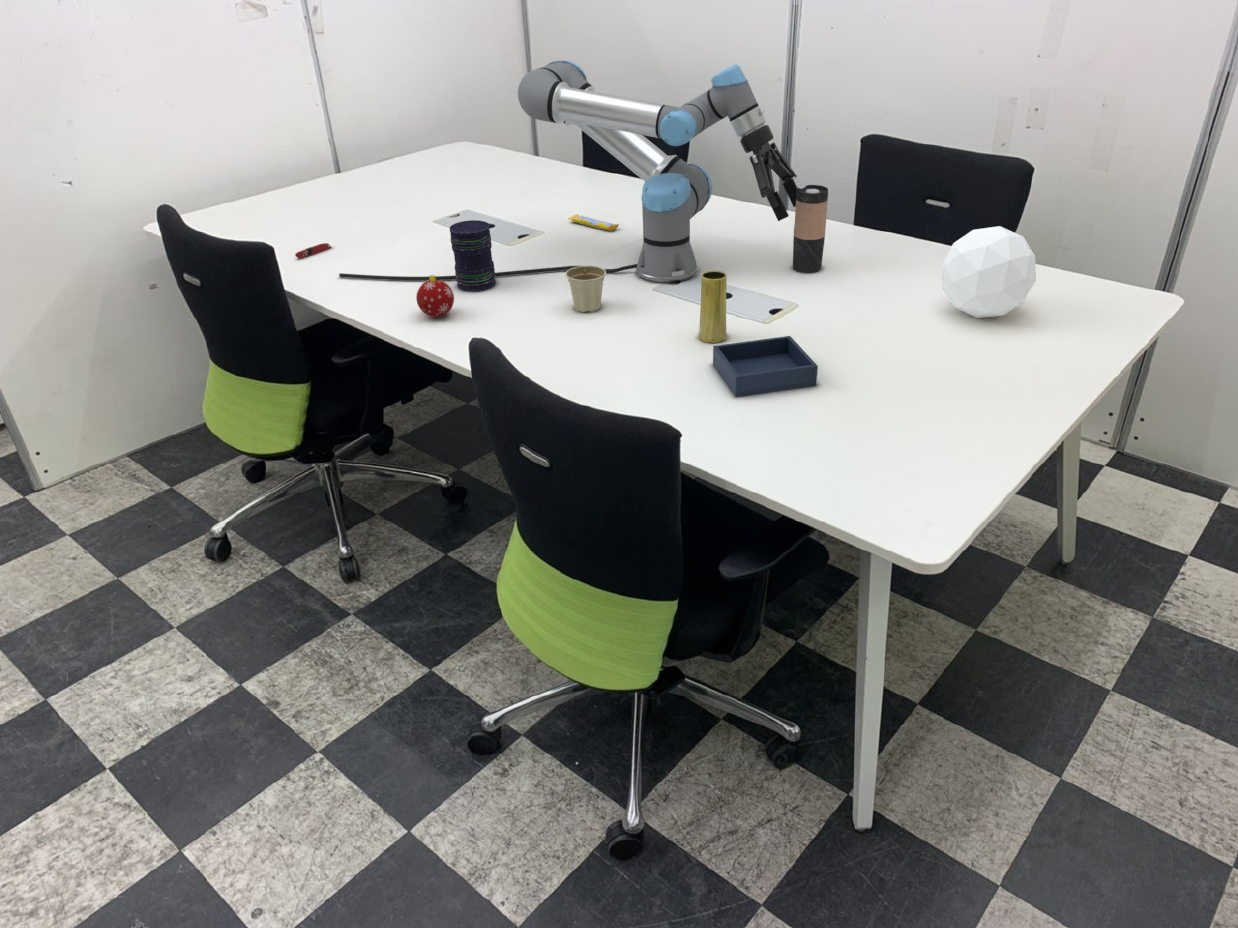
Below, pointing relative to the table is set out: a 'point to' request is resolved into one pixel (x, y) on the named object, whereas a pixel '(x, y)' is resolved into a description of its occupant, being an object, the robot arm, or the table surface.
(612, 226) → the candy bar
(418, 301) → the christmas ornament
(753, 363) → the tray
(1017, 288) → the geometric polyhedron
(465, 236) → the storage jar
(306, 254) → the utility knife
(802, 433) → the table surface
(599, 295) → the flower pot
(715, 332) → the vase
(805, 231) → the travel mug
